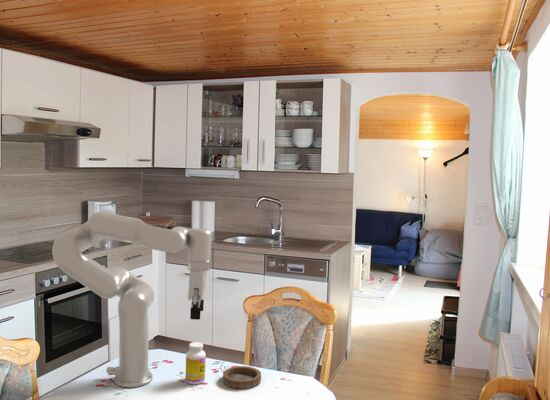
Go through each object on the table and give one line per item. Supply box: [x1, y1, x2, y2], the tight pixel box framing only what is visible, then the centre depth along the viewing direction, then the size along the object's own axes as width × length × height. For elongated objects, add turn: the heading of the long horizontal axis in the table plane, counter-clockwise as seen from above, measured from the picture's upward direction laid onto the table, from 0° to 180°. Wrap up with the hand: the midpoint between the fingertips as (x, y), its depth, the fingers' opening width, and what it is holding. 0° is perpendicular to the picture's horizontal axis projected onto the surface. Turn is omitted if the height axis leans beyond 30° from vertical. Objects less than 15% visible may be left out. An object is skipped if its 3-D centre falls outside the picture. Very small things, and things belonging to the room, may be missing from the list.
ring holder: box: [222, 365, 262, 390], centre depth 172 cm, size 13×13×3 cm
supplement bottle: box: [184, 341, 206, 385], centre depth 171 cm, size 7×7×13 cm
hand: (196, 314), depth 170 cm, fingers open, 9 cm apart
